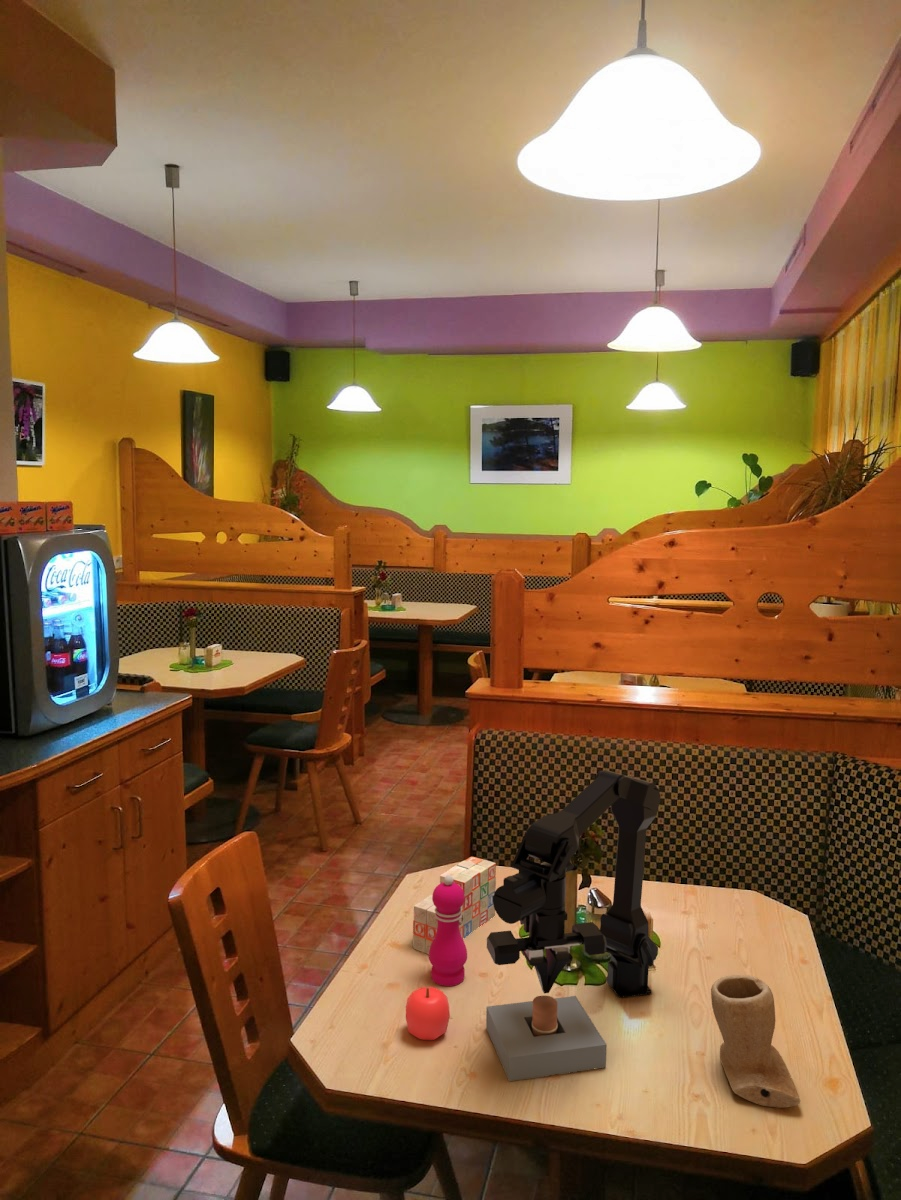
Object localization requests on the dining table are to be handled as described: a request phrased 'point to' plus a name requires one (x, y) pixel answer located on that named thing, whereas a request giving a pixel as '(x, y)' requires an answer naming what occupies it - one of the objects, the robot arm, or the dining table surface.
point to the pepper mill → (448, 935)
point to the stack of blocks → (475, 910)
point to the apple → (427, 1013)
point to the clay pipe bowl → (751, 1041)
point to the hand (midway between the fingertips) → (545, 991)
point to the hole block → (544, 1040)
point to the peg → (544, 1016)
